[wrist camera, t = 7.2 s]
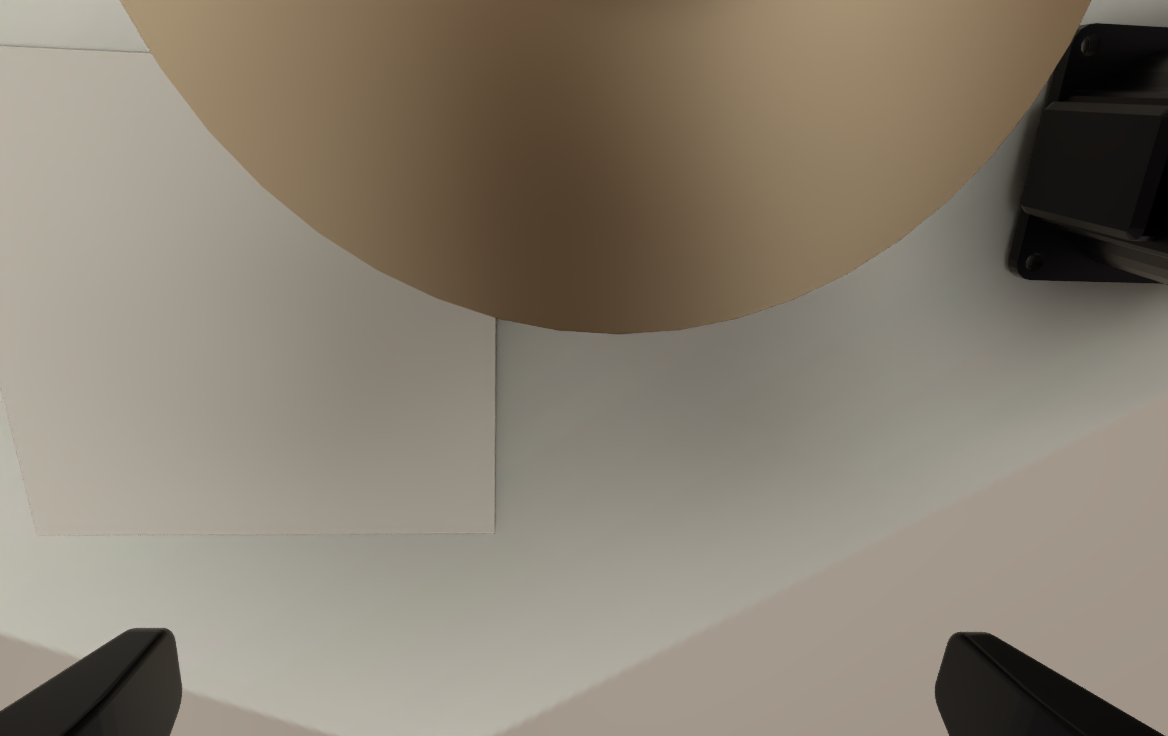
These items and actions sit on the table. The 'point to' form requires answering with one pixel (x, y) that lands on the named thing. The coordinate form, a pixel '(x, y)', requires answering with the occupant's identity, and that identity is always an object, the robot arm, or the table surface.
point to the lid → (610, 136)
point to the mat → (212, 335)
